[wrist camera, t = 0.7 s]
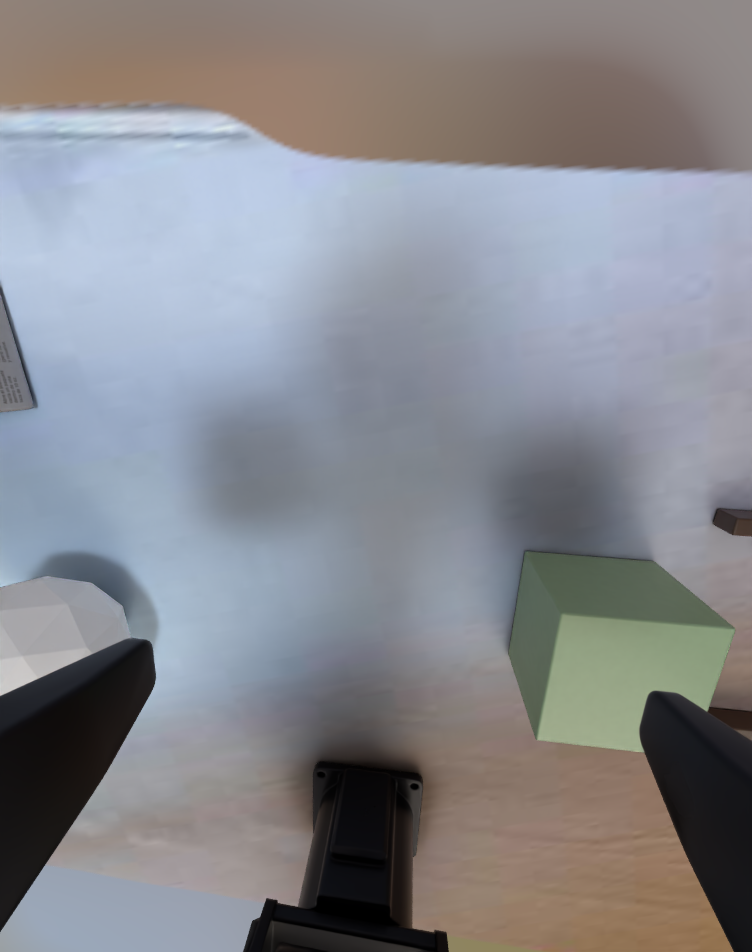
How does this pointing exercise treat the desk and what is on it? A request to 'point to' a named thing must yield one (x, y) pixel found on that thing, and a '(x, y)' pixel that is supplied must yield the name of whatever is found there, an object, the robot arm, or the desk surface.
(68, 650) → the geometric ball
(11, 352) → the coffee box
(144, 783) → the desk surface
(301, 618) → the desk surface
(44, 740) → the robot arm
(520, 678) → the block
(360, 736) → the desk surface
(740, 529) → the bay
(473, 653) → the desk surface
